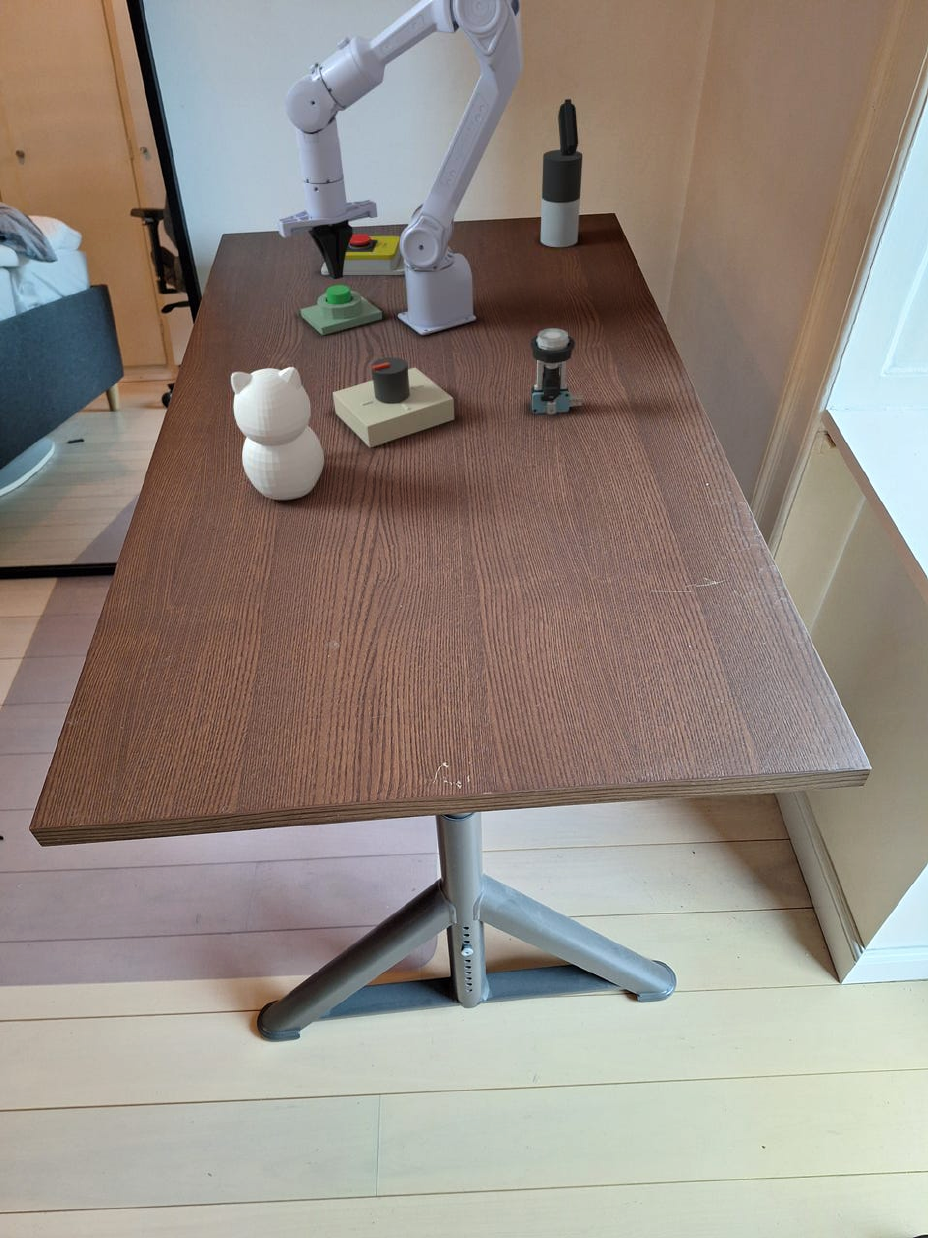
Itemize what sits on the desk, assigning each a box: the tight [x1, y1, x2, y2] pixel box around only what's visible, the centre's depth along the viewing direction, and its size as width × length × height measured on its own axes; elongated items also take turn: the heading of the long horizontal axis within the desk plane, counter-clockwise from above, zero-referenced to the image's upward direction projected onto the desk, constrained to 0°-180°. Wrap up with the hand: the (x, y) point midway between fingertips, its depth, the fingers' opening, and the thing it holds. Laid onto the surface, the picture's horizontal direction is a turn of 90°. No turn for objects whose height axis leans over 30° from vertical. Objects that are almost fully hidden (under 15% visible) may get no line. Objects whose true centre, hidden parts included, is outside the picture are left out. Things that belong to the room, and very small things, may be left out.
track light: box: [540, 98, 583, 248], centre depth 144 cm, size 6×17×20 cm
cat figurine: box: [230, 366, 325, 501], centre depth 94 cm, size 9×12×15 cm
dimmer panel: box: [332, 367, 455, 449], centre depth 108 cm, size 12×10×3 cm
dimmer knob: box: [371, 356, 410, 403], centre depth 105 cm, size 4×4×4 cm
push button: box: [530, 327, 583, 415], centre depth 105 cm, size 7×5×10 cm
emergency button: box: [320, 233, 405, 276], centre depth 145 cm, size 9×4×15 cm
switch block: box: [300, 290, 383, 336], centre depth 130 cm, size 10×8×3 cm
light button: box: [325, 284, 351, 305], centre depth 129 cm, size 4×4×2 cm
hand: (336, 276), depth 127 cm, fingers closed
